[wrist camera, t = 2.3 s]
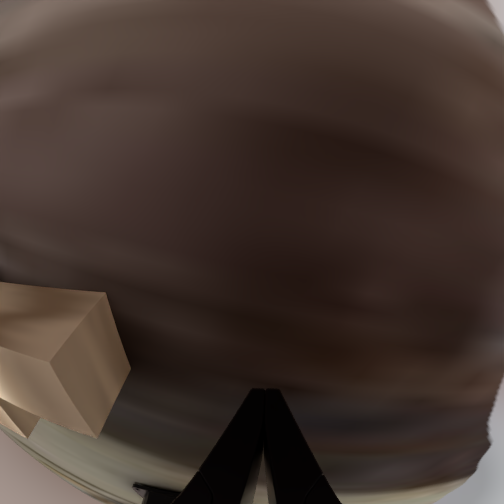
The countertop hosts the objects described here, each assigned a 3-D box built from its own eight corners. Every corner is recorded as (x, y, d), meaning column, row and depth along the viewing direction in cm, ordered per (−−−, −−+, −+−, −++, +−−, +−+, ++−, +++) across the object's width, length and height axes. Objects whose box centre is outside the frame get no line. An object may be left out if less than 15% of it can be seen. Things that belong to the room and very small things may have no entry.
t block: (83, 186, 9) (-2, 227, 5) (152, 418, 13) (131, 479, 10) (-51, 211, 9) (-100, 239, 6) (17, 379, 14) (-10, 416, 10)
